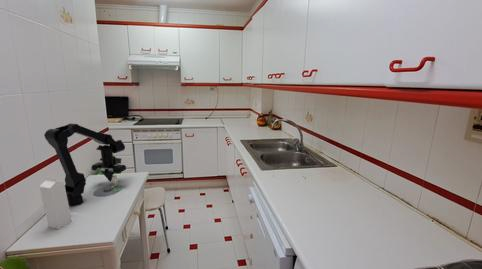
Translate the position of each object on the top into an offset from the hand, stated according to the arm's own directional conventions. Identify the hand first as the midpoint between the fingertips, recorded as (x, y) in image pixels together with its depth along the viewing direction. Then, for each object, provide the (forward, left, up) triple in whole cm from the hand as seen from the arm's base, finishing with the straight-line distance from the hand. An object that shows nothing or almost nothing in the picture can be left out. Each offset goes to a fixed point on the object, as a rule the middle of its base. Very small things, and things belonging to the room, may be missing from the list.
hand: (110, 181), depth 139 cm
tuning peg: (+3, -3, -2) cm, 5 cm away
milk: (+5, -36, -4) cm, 37 cm away
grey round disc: (+3, -6, -4) cm, 8 cm away
